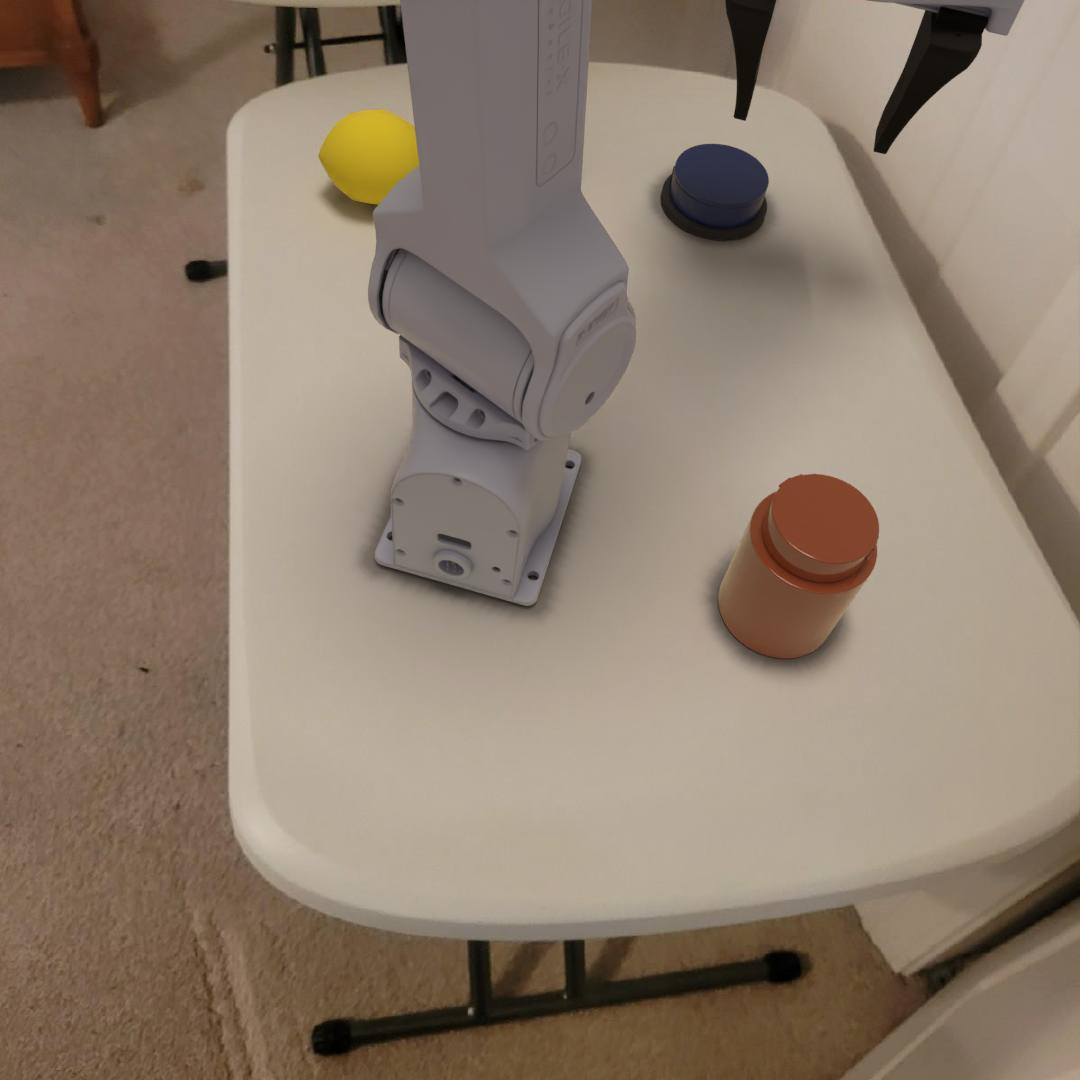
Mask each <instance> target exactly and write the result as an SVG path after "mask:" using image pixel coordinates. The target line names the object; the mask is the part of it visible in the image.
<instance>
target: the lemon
mask: <svg viewBox="0 0 1080 1080" xmlns="http://www.w3.org/2000/svg"><path fill="white" fill-rule="evenodd" d="M318 159H319V162H320V163H321V166H322V168H324V171H325V173H326V174H327V176H328V178H329V179H330V180H331V182H332V183H333V184H334V185H335V187H336V188H337V189H338V190H339V191H340V192H342V193H343V194H344V195H346V196H347V197H348V198H350V199H351V200H352V201H355V202H358V203H364V204H371V205H377V206H378V205H379V204H380V202H381V201H382V200H383V199H384V198H385V196H386V195H387V194H388V193H389V191H390V190H391V189H392V188H393V187H394V186H395V185H396V184H397V183H398V182H399V181H400V180H401V179H403V178H404V177H405V176H406V175H407V174H408V173H410V172H411V171H412V170H414V169H415V168H417V167H418V166H419V160H418V151H417V142H416V134H415V125H414V124H412V123H411V122H409V121H407V120H406V119H404V118H403V117H401V116H400V115H399V116H398V115H397V114H395V113H392V112H390V111H388V110H386V109H384V108H380V109H366V110H365V109H364V110H360V111H355V112H354V111H353V112H350V113H349V114H347V115H346V116H345V117H343V118H341V119H340V120H339V121H337V122H335V124H334V126H333V127H332V128H331V129H330V131H329V132H328V133H327V134H326V136H325V139H324V140H323V142H322V144H321V147H320V149H319V152H318Z"/></svg>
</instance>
